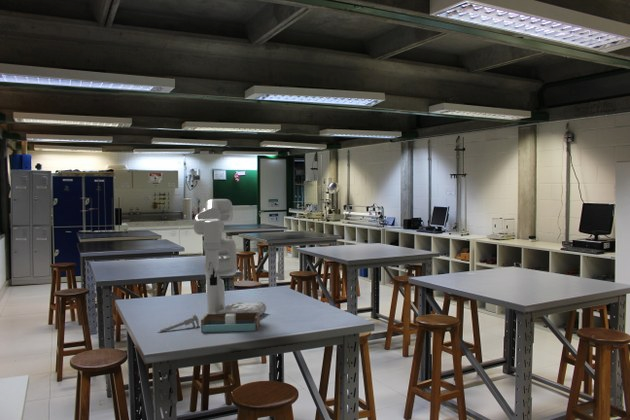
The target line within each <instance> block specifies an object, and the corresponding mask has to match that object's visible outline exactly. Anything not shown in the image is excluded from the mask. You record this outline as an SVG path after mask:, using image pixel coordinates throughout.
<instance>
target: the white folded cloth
mask: <svg viewBox="0 0 630 420" xmlns="http://www.w3.org/2000/svg"><path fill="white" fill-rule="evenodd" d="M266 311H267V306H266V304H265V303H264V302H263V301H259V302H242V301H238V302H234V303H229V304H227V305H225V309H224V310H220V311H219V312H218V313H252V312H259V317H260V316H261V315H263V314H264V313H266Z"/></svg>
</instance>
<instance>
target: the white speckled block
mask: <svg viewBox="0 0 630 420" xmlns="http://www.w3.org/2000/svg"><path fill="white" fill-rule="evenodd" d="M225 324H236V314H226V315H225Z"/></svg>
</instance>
